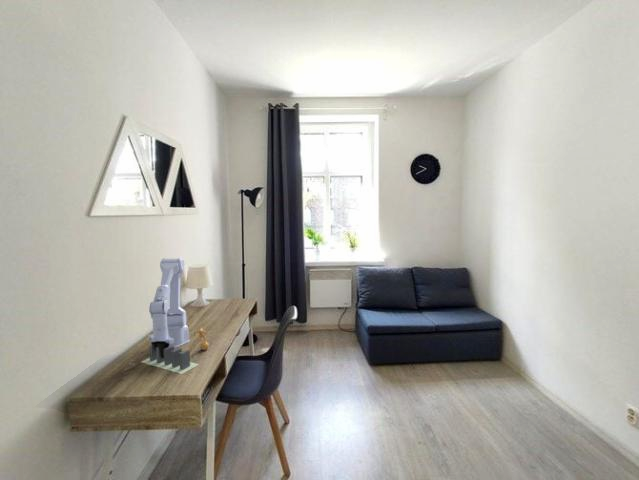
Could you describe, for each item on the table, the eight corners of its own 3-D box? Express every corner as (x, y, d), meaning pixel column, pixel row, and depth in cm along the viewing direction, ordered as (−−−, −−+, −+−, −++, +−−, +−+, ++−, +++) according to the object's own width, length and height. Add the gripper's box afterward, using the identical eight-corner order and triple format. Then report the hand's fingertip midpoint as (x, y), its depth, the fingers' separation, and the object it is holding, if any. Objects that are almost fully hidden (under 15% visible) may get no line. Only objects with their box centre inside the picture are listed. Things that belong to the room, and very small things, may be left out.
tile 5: (179, 369, 131) (179, 353, 131) (187, 365, 135) (186, 349, 134) (182, 369, 130) (182, 353, 130) (190, 365, 134) (189, 350, 133)
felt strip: (158, 354, 146) (158, 353, 146) (198, 364, 135) (198, 364, 135) (140, 362, 138) (140, 361, 138) (181, 374, 127) (181, 373, 127)
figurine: (214, 348, 152) (213, 324, 151) (208, 353, 146) (207, 329, 145) (198, 347, 153) (197, 324, 152) (192, 353, 147) (190, 328, 146)
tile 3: (164, 364, 135) (163, 349, 135) (171, 360, 139) (171, 345, 138) (167, 365, 135) (166, 349, 134) (174, 361, 138) (173, 346, 137)
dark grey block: (172, 366, 133) (171, 351, 133) (179, 362, 137) (178, 347, 136) (174, 367, 133) (174, 351, 132) (182, 363, 136) (181, 348, 135)
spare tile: (156, 362, 137) (156, 347, 137) (164, 359, 141) (163, 344, 140) (159, 363, 137) (158, 348, 136) (167, 359, 140) (166, 344, 139)
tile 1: (149, 360, 140) (149, 345, 139) (157, 357, 143) (156, 342, 142) (152, 361, 139) (151, 346, 138) (160, 357, 142) (159, 342, 142)
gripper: (141, 327, 137) (143, 357, 138) (163, 332, 131) (165, 363, 132) (155, 322, 143) (157, 351, 144) (177, 327, 137) (179, 356, 138)
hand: (162, 356), depth 139 cm, fingers closed on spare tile, 2 cm apart
